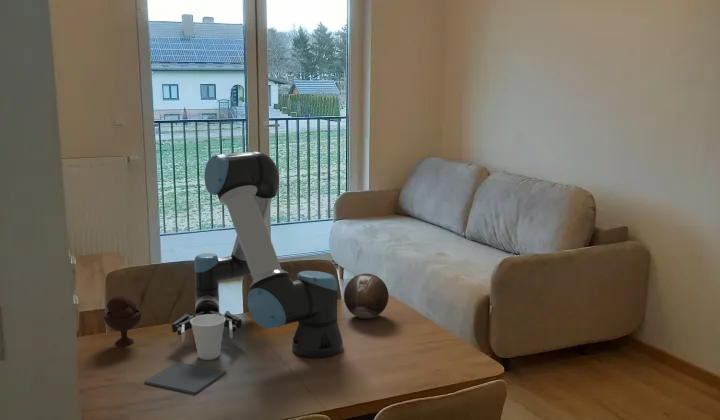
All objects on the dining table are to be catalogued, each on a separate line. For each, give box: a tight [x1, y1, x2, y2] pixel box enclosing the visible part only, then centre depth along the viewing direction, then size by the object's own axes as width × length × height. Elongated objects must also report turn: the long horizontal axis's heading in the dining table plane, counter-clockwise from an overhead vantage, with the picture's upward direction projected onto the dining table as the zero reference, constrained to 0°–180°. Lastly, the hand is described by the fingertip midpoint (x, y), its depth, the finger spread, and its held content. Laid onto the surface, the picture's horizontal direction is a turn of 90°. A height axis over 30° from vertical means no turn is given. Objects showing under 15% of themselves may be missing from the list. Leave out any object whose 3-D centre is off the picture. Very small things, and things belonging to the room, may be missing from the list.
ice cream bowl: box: [103, 295, 142, 347], centre depth 208 cm, size 11×11×15 cm
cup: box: [190, 314, 226, 361], centre depth 200 cm, size 10×10×11 cm
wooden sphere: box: [343, 273, 390, 320], centre depth 233 cm, size 15×15×15 cm
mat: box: [144, 361, 227, 395], centre depth 186 cm, size 16×14×1 cm
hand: (207, 335), depth 199 cm, fingers open, 13 cm apart
